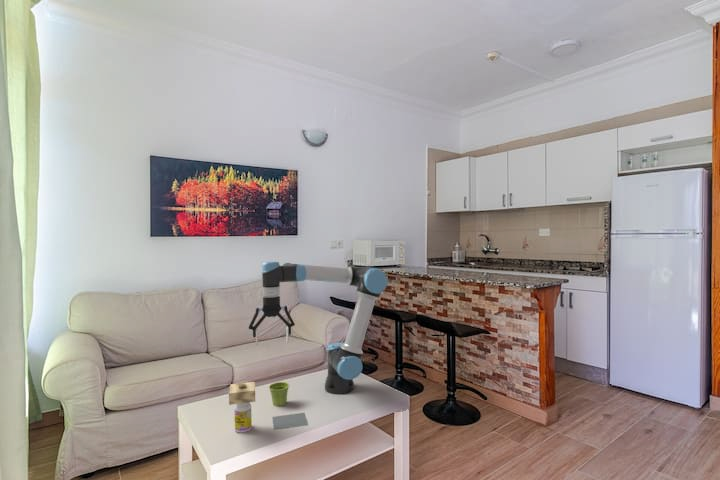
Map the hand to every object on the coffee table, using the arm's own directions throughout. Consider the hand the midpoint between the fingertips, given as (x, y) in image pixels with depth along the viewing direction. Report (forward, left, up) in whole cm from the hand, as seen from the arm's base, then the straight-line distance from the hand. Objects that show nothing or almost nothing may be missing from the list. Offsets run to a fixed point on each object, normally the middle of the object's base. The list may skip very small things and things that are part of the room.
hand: (272, 342), depth 179 cm
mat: (-6, +13, -31) cm, 34 cm away
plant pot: (-3, -6, -31) cm, 32 cm away
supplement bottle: (+13, +14, -31) cm, 36 cm away
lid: (+13, +14, -18) cm, 26 cm away
